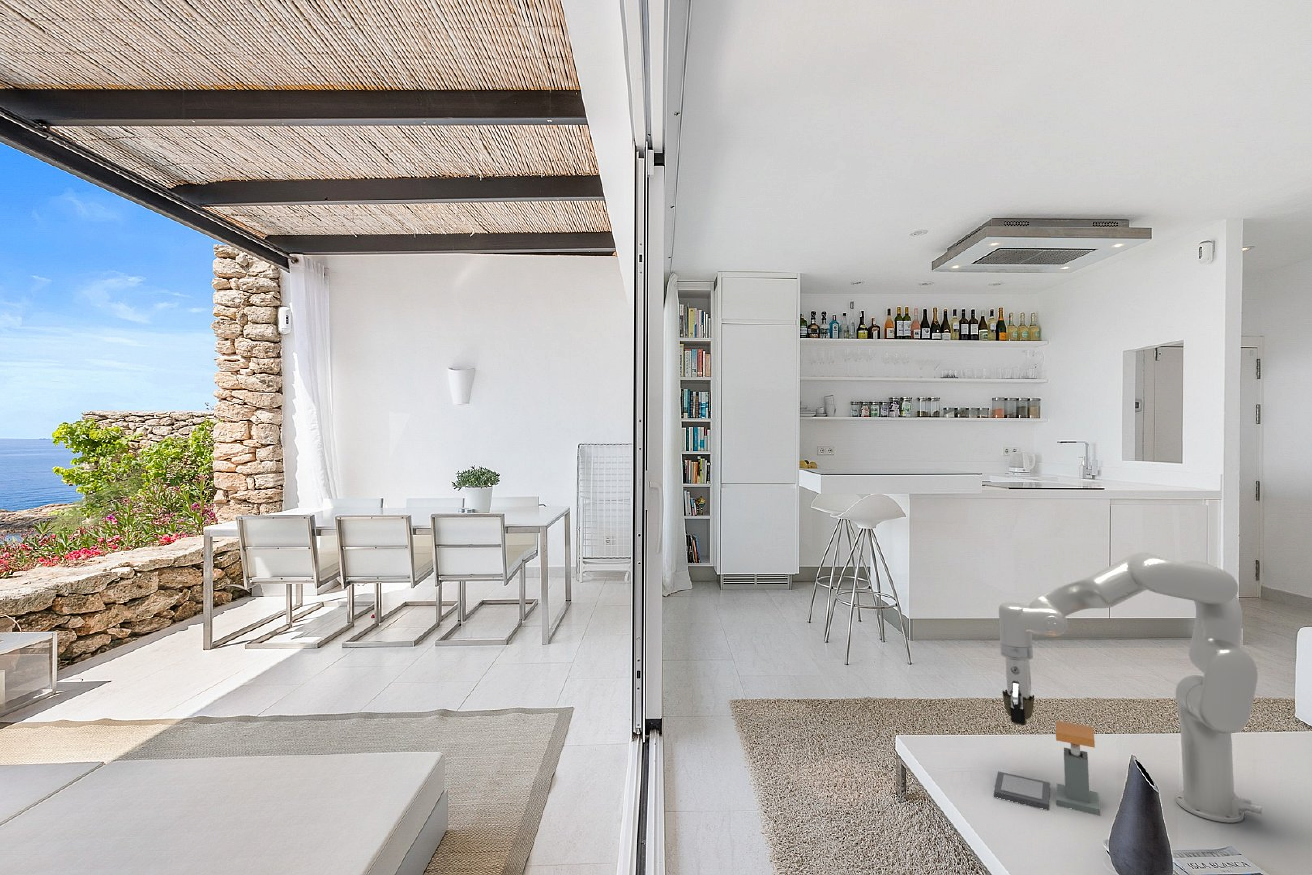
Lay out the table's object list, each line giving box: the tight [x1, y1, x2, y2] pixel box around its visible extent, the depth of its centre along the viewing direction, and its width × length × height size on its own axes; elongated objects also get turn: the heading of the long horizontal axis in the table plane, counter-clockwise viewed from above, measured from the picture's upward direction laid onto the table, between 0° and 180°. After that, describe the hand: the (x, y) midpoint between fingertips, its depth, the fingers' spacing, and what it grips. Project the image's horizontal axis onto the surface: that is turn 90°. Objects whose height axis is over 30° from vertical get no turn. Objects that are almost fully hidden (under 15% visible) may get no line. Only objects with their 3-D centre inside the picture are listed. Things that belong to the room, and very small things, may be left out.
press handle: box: [1055, 720, 1096, 757], centre depth 161 cm, size 8×8×12 cm
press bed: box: [993, 771, 1051, 811], centre depth 165 cm, size 12×12×2 cm
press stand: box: [1055, 747, 1101, 817], centre depth 161 cm, size 9×9×12 cm
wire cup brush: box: [1001, 689, 1035, 727], centre depth 170 cm, size 8×7×8 cm
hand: (1019, 717), depth 170 cm, fingers closed on wire cup brush, 6 cm apart
